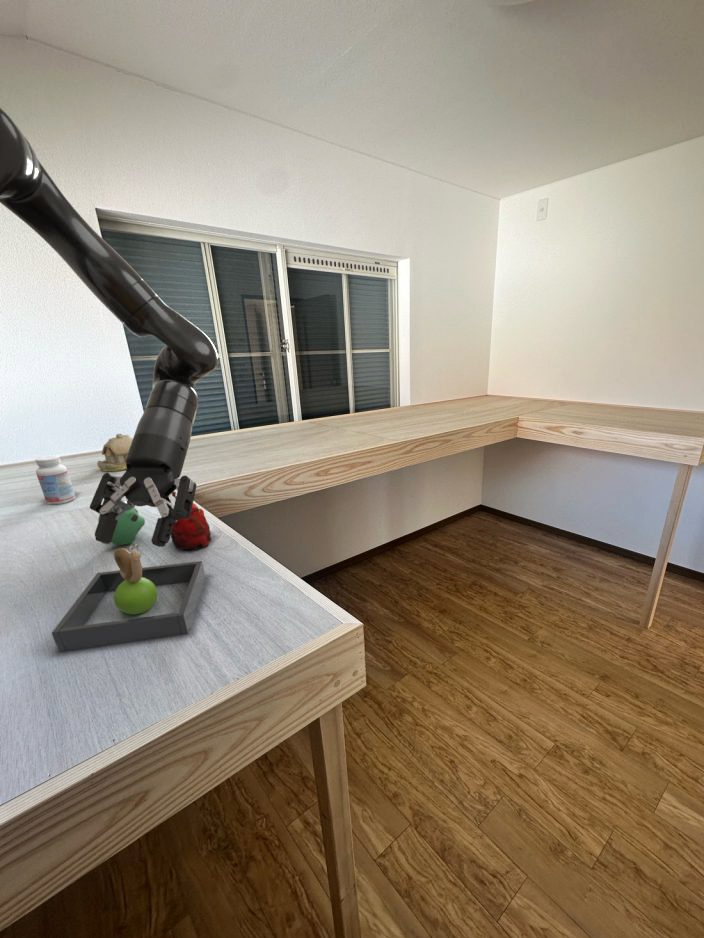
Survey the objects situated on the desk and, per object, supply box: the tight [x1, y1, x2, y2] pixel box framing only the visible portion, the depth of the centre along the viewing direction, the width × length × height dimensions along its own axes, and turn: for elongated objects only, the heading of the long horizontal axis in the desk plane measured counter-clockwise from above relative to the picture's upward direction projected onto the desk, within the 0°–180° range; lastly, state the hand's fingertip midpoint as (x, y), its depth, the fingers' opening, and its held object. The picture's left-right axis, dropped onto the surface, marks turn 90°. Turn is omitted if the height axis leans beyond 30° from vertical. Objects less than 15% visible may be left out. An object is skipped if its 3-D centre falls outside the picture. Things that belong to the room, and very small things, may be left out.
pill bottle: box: [34, 454, 77, 505], centre depth 102 cm, size 6×6×11 cm
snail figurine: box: [113, 543, 158, 616], centre depth 59 cm, size 5×6×12 cm
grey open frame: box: [51, 560, 207, 654], centre depth 61 cm, size 16×15×4 cm
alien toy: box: [97, 506, 146, 546], centre depth 81 cm, size 7×8×10 cm
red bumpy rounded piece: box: [170, 491, 212, 551], centre depth 79 cm, size 8×7×15 cm
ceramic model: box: [96, 433, 133, 472], centre depth 130 cm, size 14×11×10 cm
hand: (130, 543), depth 59 cm, fingers open, 8 cm apart
